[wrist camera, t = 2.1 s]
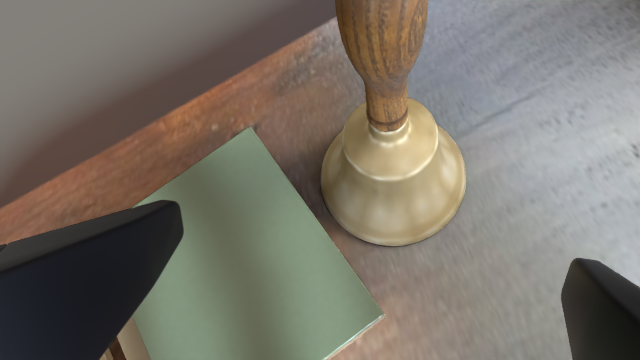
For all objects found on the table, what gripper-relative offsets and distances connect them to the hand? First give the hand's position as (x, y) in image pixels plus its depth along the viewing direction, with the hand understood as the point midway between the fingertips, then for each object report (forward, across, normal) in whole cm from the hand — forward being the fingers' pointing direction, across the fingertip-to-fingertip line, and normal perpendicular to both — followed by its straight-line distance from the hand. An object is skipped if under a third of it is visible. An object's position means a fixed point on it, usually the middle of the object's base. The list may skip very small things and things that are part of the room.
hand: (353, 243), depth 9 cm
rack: (+6, +11, +12) cm, 17 cm away
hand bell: (+14, 0, +5) cm, 15 cm away
